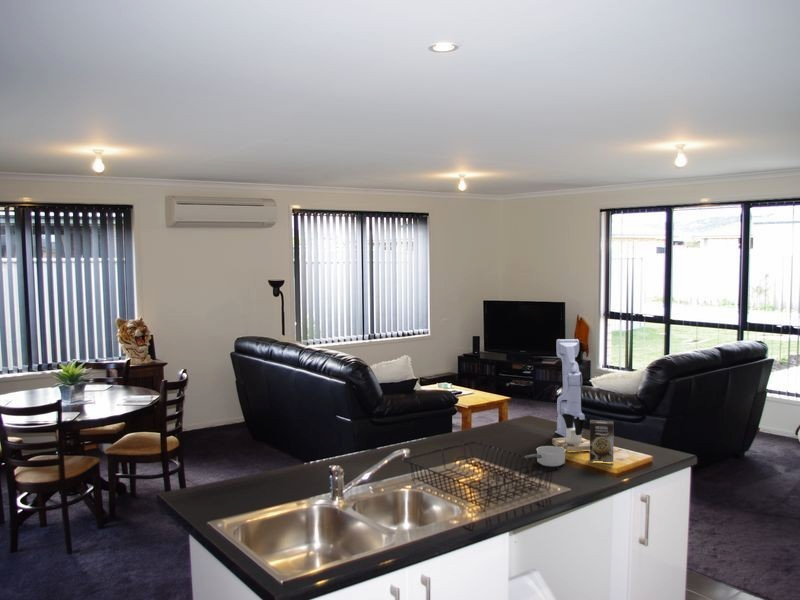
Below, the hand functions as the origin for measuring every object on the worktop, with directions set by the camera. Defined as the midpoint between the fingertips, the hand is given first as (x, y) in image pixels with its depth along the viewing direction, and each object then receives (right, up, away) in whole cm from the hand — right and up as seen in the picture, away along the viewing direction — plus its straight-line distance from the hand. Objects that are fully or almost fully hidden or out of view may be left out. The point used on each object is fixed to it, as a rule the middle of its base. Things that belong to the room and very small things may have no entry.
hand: (574, 432), depth 288 cm
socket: (0, -6, 0) cm, 6 cm away
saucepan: (-18, -8, -24) cm, 31 cm away
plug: (0, -6, 0) cm, 6 cm away
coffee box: (+5, -8, -21) cm, 23 cm away
